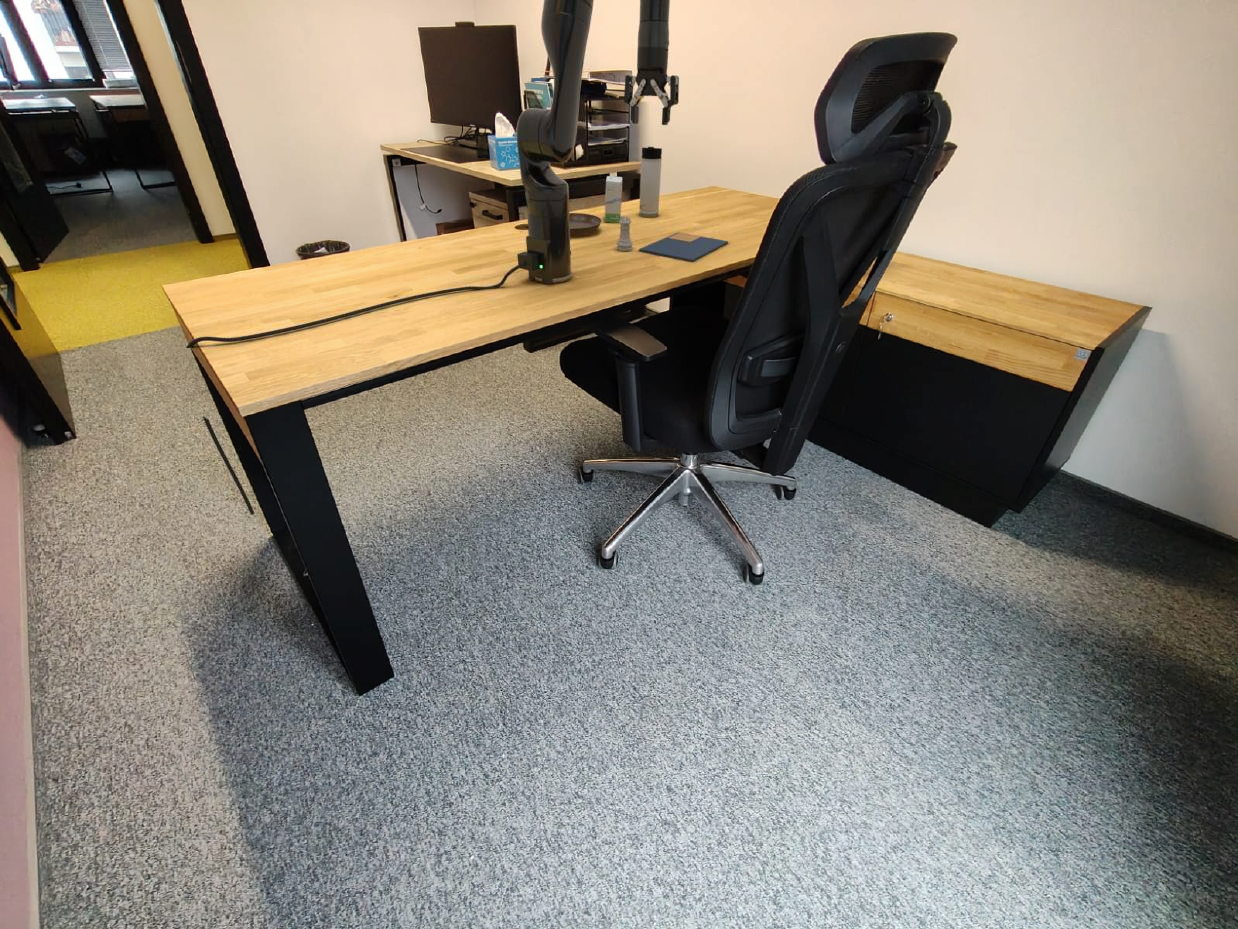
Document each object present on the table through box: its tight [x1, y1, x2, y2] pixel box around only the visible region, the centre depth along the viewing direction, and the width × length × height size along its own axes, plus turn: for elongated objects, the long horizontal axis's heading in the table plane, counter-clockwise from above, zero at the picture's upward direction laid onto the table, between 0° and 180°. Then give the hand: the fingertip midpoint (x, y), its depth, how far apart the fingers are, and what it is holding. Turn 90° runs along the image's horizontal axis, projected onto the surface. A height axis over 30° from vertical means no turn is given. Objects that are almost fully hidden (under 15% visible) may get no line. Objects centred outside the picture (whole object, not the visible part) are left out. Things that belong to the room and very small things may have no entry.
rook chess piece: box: [615, 216, 634, 252], centre depth 148 cm, size 4×4×8 cm
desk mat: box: [638, 231, 729, 263], centre depth 153 cm, size 22×16×1 cm
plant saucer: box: [569, 212, 603, 237], centre depth 164 cm, size 18×18×3 cm
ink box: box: [604, 175, 623, 224], centre depth 174 cm, size 9×5×12 cm, turn 179°
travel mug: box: [638, 146, 663, 218], centre depth 177 cm, size 6×7×20 cm
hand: (649, 124), depth 144 cm, fingers open, 8 cm apart
